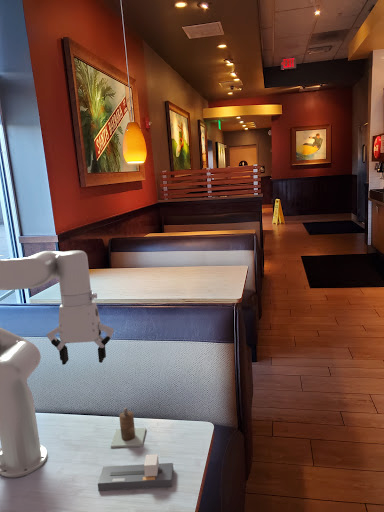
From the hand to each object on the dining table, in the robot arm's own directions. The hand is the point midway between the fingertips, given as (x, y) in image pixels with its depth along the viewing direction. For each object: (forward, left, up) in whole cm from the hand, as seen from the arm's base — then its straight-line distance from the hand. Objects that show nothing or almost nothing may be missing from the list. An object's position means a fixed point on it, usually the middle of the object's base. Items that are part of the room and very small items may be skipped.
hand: (83, 361), depth 107 cm
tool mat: (+8, +8, -28) cm, 30 cm away
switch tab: (+17, -10, -26) cm, 32 cm away
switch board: (+13, -10, -28) cm, 32 cm away
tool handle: (+8, +8, -28) cm, 30 cm away
